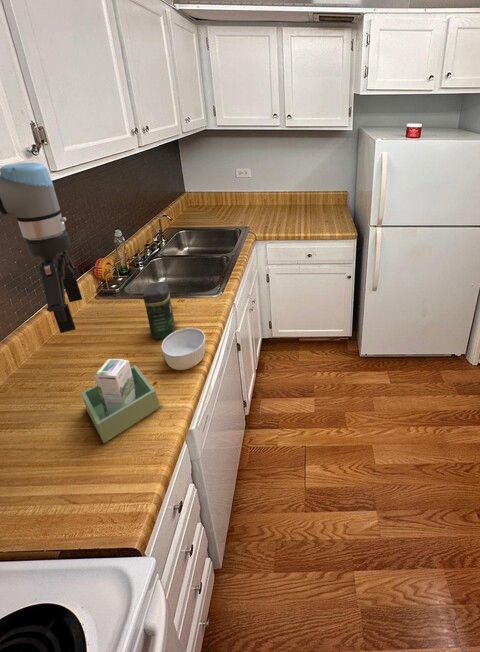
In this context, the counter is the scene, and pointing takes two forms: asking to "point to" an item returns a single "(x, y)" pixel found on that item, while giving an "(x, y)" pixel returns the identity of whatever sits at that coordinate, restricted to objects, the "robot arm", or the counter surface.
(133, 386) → the syrup box
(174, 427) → the counter surface
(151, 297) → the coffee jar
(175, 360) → the ramekin
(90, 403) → the bin
